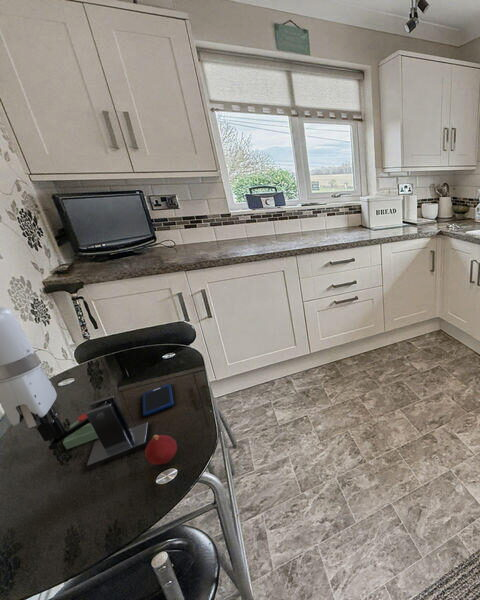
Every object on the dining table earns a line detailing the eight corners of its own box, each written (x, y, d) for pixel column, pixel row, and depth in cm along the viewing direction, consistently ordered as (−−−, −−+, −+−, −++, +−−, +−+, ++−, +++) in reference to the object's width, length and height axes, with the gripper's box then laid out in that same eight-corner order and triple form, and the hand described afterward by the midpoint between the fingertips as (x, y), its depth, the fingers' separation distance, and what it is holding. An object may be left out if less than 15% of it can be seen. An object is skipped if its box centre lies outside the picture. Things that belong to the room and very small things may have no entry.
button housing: (66, 449, 82) (59, 437, 80) (74, 431, 88) (68, 419, 87) (116, 431, 87) (110, 419, 85) (120, 415, 93) (115, 403, 92)
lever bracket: (88, 469, 75) (63, 425, 70) (96, 445, 82) (74, 404, 78) (146, 446, 80) (126, 404, 76) (149, 425, 87) (131, 386, 83)
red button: (79, 427, 84) (76, 422, 83) (82, 419, 87) (79, 414, 86) (97, 421, 85) (94, 415, 85) (99, 413, 88) (96, 408, 88)
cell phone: (171, 385, 105) (170, 383, 105) (174, 405, 95) (173, 403, 94) (143, 395, 101) (142, 393, 101) (143, 417, 91) (142, 415, 90)
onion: (151, 462, 75) (137, 435, 72) (179, 448, 78) (168, 421, 76) (153, 477, 71) (139, 449, 68) (183, 462, 74) (171, 434, 71)
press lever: (54, 452, 72) (44, 446, 71) (60, 438, 76) (51, 432, 75) (111, 415, 76) (103, 408, 75) (115, 404, 80) (107, 398, 79)
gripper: (3, 358, 71) (44, 425, 78) (-33, 391, 59) (19, 466, 66) (49, 347, 75) (85, 411, 81) (24, 375, 63) (68, 448, 69)
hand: (55, 436), depth 74 cm, fingers closed
